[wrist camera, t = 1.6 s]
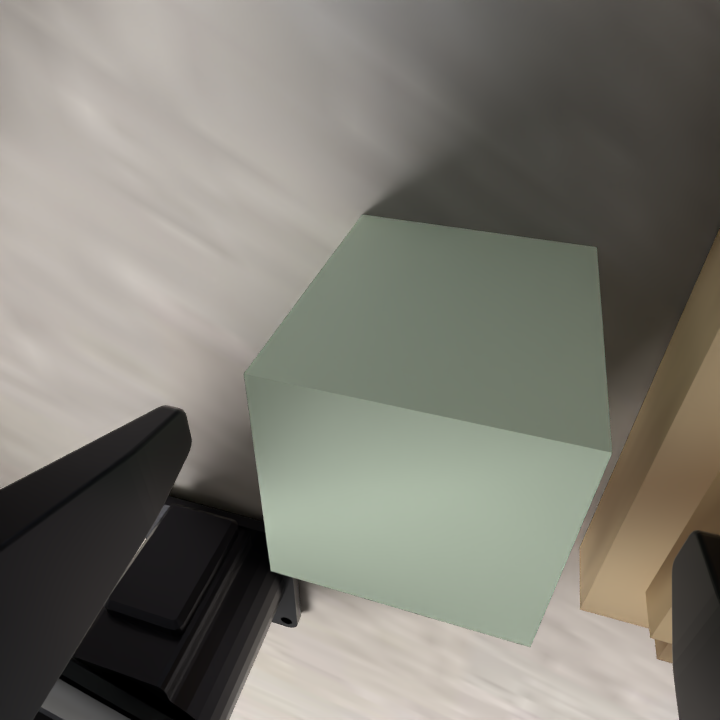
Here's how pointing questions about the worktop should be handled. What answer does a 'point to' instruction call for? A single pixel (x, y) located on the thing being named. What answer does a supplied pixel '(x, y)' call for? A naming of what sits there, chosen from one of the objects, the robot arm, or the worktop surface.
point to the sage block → (435, 422)
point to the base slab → (662, 476)
